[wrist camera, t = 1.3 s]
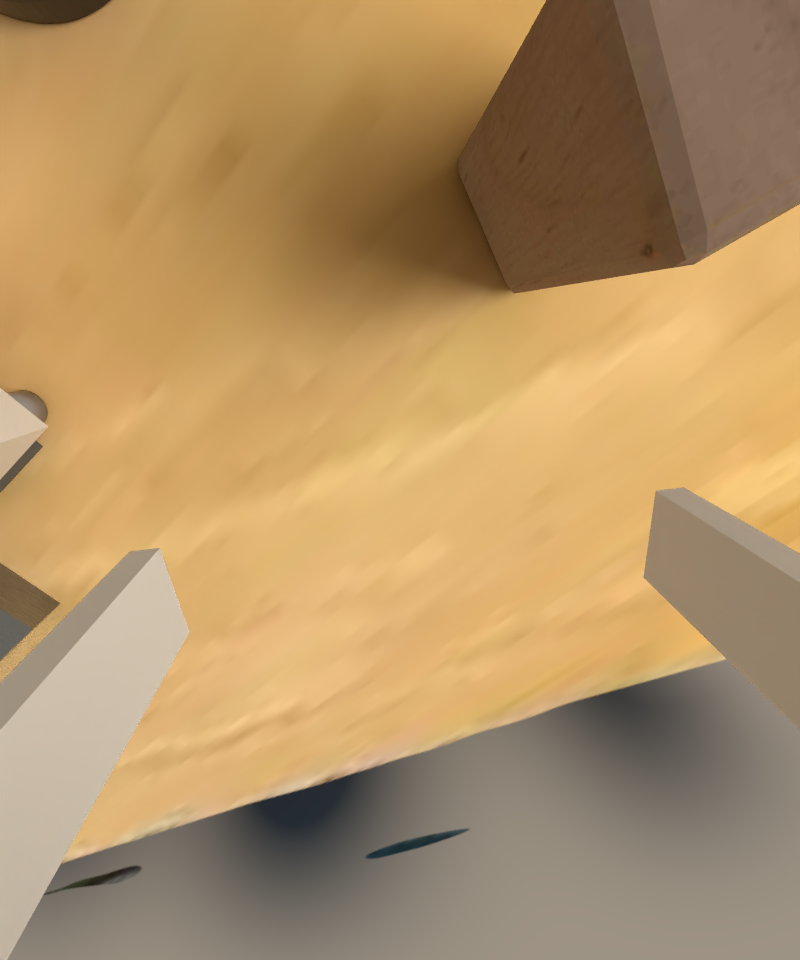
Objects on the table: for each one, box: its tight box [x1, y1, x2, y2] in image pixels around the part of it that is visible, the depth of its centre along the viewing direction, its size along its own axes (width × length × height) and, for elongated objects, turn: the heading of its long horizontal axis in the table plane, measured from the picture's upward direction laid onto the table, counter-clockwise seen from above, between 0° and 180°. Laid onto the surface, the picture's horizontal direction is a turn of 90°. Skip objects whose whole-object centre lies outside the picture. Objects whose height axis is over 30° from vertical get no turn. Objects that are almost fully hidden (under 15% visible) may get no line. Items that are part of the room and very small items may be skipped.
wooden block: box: [458, 0, 800, 293], centre depth 21 cm, size 10×10×20 cm
